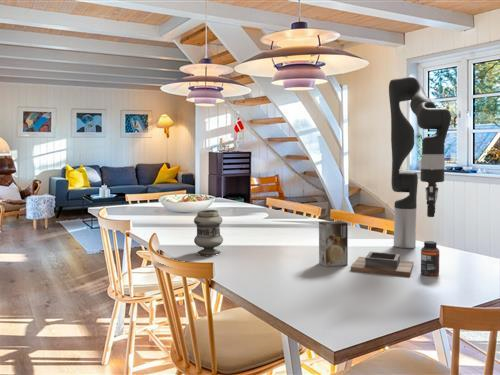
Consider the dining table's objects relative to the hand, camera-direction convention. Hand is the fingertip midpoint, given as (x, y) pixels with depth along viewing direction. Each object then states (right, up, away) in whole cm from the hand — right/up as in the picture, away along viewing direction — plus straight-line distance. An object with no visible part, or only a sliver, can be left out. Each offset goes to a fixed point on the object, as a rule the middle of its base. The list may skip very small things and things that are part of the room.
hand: (431, 215), depth 156 cm
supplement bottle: (0, -21, +2) cm, 21 cm away
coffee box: (-31, -20, +16) cm, 40 cm away
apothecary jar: (-79, -18, +35) cm, 88 cm away
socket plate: (-14, -20, +10) cm, 26 cm away
